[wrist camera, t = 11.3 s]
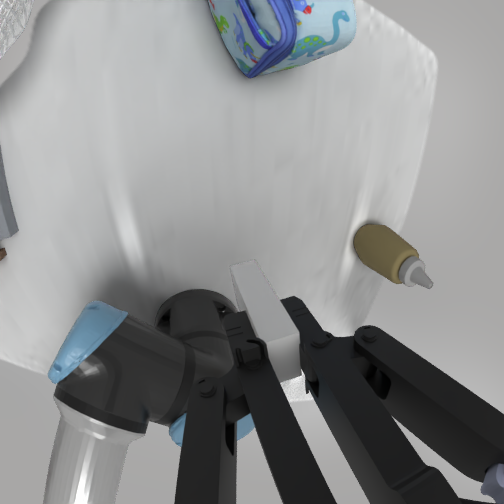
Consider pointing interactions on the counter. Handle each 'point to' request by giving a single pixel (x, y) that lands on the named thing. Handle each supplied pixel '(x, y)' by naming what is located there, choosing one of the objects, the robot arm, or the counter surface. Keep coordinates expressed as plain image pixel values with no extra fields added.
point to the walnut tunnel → (2, 253)
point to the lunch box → (282, 31)
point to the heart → (17, 24)
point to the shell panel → (5, 207)
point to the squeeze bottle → (390, 256)
